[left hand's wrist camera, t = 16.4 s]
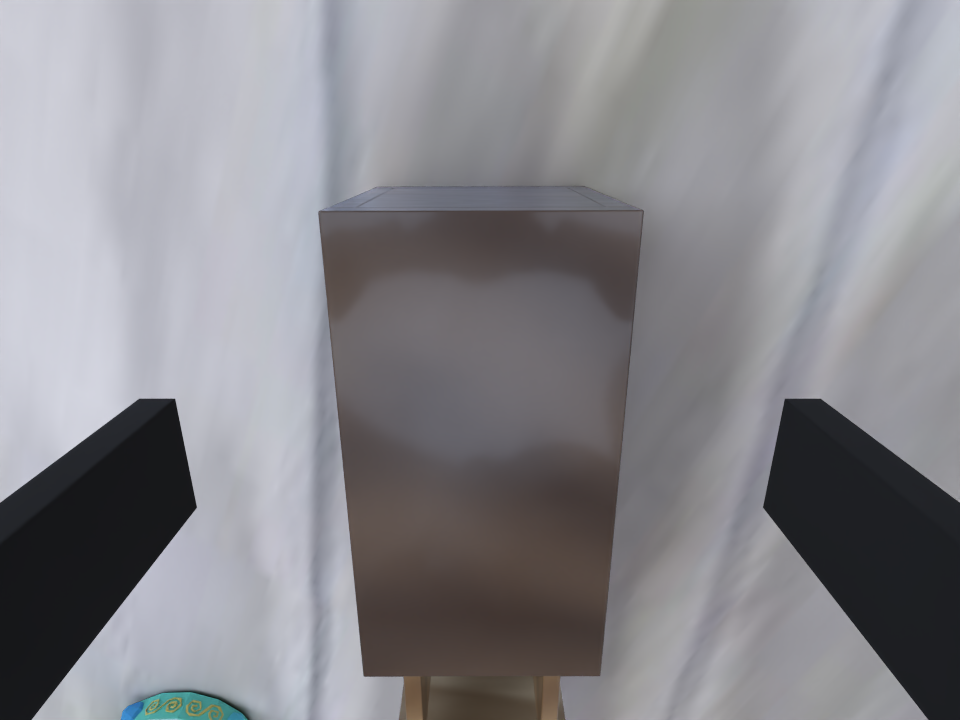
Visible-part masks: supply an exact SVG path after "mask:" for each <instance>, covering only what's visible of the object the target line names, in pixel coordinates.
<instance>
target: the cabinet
mask: <svg viewBox="0 0 960 720" xmlns="http://www.w3.org/2000/svg"><path fill="white" fill-rule="evenodd" d="M643 213H644V211H643V210H641V209H639V208H636V207H633V206H631V205H629V204H626V203H624V202H621V201H619V200H616V199H614V198H612V197H609V196H607V195H604V194H602V193H599V192H597V191H595V190H592V189H590V188H587V187H585V186H504V187H375V188H373V189H371V190H369V191H367V192H364V193H362V194H360V195H357V196H355V197H353V198H350V199H348V200H345V201H343V202H341V203H338V204H336V205H334V206H331V207H329V208H325V209H323V210H321V211H319V212H318V214H319V224H320V234H321V244H322V255H323V265H324V275H325V285H326V296H327V306H328V316H329V326H330V336H331V347H332V357H333V367H334V377H335V388H336V398H337V408H338V418H339V429H340V439H341V449H342V459H343V469H344V480H345V490H346V500H347V510H348V521H349V531H350V541H351V551H352V562H353V572H354V582H355V592H356V602H357V613H358V623H359V633H360V643H361V654H362V664H363V674H364V676H365V677H393V676H600V674H601V663H602V652H603V642H604V631H605V620H606V609H607V599H608V588H609V577H610V567H611V556H612V545H613V534H614V524H615V513H616V502H617V492H618V481H619V470H620V459H621V449H622V438H623V427H624V417H625V406H626V395H627V384H628V374H629V363H630V352H631V341H632V331H633V320H634V309H635V299H636V288H637V277H638V266H639V256H640V245H641V234H642V224H643Z"/></svg>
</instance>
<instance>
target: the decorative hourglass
mask: <svg viewBox="0 0 960 720" xmlns="http://www.w3.org/2000/svg"><path fill="white" fill-rule="evenodd" d="M121 720H247V718H246V717H245V716H244V715H243V714H242V713H241V712H239V711H238V710H236V709H234V708H232V707H231V706H229V705H227V704H226V703H224V702H222V701H220V700H219V699H215V698H211V697H207V696H203V695H199V694H196V693H192V692H179V693H161V694H158V695H156V696H153V697H151V698H148V699H145V700H143V701H140V702H137V703H134V704H132V705H129V706H128V707H127V708H126V709H125V710H123V713H122V717H121Z"/></svg>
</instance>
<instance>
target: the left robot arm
mask: <svg viewBox="0 0 960 720" xmlns="http://www.w3.org/2000/svg"><path fill="white" fill-rule="evenodd" d="M196 508H197V506H196V501H195V496H194V491H193V486H192V481H191V476H190V471H189V466H188V461H187V456H186V451H185V446H184V441H183V436H182V431H181V426H180V421H179V416H178V411H177V406H176V401H175V399H138V400H137V401H136V402H134V403H133V404H132V405H130V406H129V407H128V408H126V409H125V410H124V411H122V412H121V413H120V414H118V415H117V416H116V417H114V418H113V419H112V420H110V421H109V422H108V423H106V424H105V425H104V426H102V427H101V428H100V429H98V430H97V431H96V432H94V433H93V434H92V435H90V436H89V437H88V438H86V439H85V440H84V441H82V442H81V443H80V444H78V445H77V446H76V447H74V448H73V449H72V450H70V451H69V452H68V453H66V454H65V455H64V456H62V457H61V458H60V459H58V460H57V461H56V462H54V463H53V464H52V465H50V466H49V467H48V468H46V469H45V470H44V471H42V472H41V473H40V474H38V475H37V476H36V477H34V478H33V479H32V480H30V481H29V482H27V483H26V484H25V485H23V486H22V487H21V488H19V489H18V490H17V491H15V492H14V493H13V494H11V495H10V496H9V497H7V498H6V499H5V500H3V501H2V502H1V503H0V720H32V718H33V717H34V716H35V715H36V713H37V712H38V711H39V709H40V708H41V707H42V706H43V704H44V703H45V702H46V700H47V699H48V698H49V697H50V695H51V694H52V693H53V691H54V690H55V689H56V688H57V686H58V685H59V684H60V682H61V681H62V680H63V679H64V677H65V676H66V675H67V673H68V672H69V671H70V670H71V668H72V667H73V666H74V664H75V663H76V662H77V661H78V659H79V658H80V657H81V656H82V654H83V653H84V652H85V650H86V649H87V648H88V647H89V645H90V644H91V643H92V641H93V640H94V639H95V638H96V636H97V635H98V634H99V632H100V631H101V630H102V629H103V627H104V626H105V625H106V623H107V622H108V621H109V620H110V618H111V617H112V616H113V614H114V613H115V612H116V611H117V609H118V608H119V607H120V605H121V604H122V603H123V602H124V600H125V599H126V598H127V596H128V595H129V594H130V593H131V591H132V590H133V589H134V588H135V586H136V585H137V584H138V582H139V581H140V580H141V579H142V577H143V576H144V575H145V573H146V572H147V571H148V570H149V568H150V567H151V566H152V564H153V563H154V562H155V561H156V559H157V558H158V557H159V555H160V554H161V553H162V552H163V550H164V549H165V548H166V546H167V545H168V544H169V543H170V541H171V540H172V539H173V537H174V536H175V535H176V534H177V532H178V531H179V530H180V528H181V527H182V526H183V525H184V523H185V522H186V521H187V519H188V518H189V517H190V516H191V514H192V513H193V512H194V511H195V509H196ZM763 508H764V509H765V511H766V512H767V513H768V514H769V516H770V517H771V518H772V519H773V521H774V522H775V523H776V525H777V526H778V527H779V528H780V530H781V531H782V532H783V534H784V535H785V536H786V537H787V539H788V540H789V541H790V543H791V544H792V545H793V546H794V548H795V549H796V550H797V552H798V553H799V554H800V555H801V557H802V558H803V559H804V561H805V562H806V563H807V564H808V566H809V567H810V568H811V570H812V571H813V572H814V573H815V575H816V576H817V577H818V579H819V580H820V581H821V582H822V584H823V585H824V586H825V588H826V589H827V590H828V591H829V593H830V594H831V595H832V596H833V598H834V599H835V600H836V602H837V603H838V604H839V605H840V607H841V608H842V609H843V611H844V612H845V613H846V614H847V616H848V617H849V618H850V620H851V621H852V622H853V623H854V625H855V626H856V627H857V629H858V630H859V631H860V632H861V634H862V635H863V636H864V638H865V639H866V640H867V641H868V643H869V644H870V645H871V647H872V648H873V649H874V650H875V652H876V653H877V654H878V656H879V657H880V658H881V659H882V661H883V662H884V663H885V664H886V666H887V667H888V668H889V670H890V671H891V672H892V673H893V675H894V676H895V677H896V679H897V680H898V681H899V682H900V684H901V685H902V686H903V688H904V689H905V690H906V691H907V693H908V694H909V695H910V697H911V698H912V699H913V700H914V702H915V703H916V704H917V706H918V707H919V708H920V709H921V711H922V712H923V713H924V715H925V716H926V717H927V718H928V720H960V503H959V502H958V501H957V500H955V499H954V498H953V497H951V496H950V495H949V494H947V493H946V492H945V491H943V490H942V489H941V488H939V487H938V486H937V485H935V484H934V483H933V482H931V481H930V480H928V479H927V478H926V477H924V476H923V475H922V474H920V473H919V472H918V471H916V470H915V469H914V468H912V467H911V466H910V465H908V464H907V463H906V462H904V461H903V460H902V459H900V458H899V457H898V456H896V455H895V454H894V453H892V452H891V451H890V450H888V449H887V448H886V447H884V446H883V445H882V444H880V443H879V442H878V441H876V440H875V439H874V438H872V437H871V436H870V435H868V434H867V433H866V432H864V431H863V430H862V429H860V428H859V427H858V426H856V425H855V424H854V423H852V422H851V421H850V420H848V419H847V418H846V417H844V416H843V415H842V414H840V413H839V412H838V411H836V410H835V409H834V408H832V407H831V406H830V405H828V404H827V403H826V402H824V401H823V400H822V399H785V401H784V406H783V411H782V416H781V421H780V426H779V431H778V436H777V441H776V446H775V451H774V456H773V461H772V466H771V471H770V476H769V481H768V486H767V491H766V496H765V501H764V506H763Z"/></svg>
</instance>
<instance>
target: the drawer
mask: <svg viewBox="0 0 960 720" xmlns="http://www.w3.org/2000/svg"><path fill="white" fill-rule="evenodd" d="M399 720H565V715H564V708H563V701H562V694H561V688H560V676H404V687H403V694H402V701H401V708H400V715H399Z"/></svg>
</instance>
